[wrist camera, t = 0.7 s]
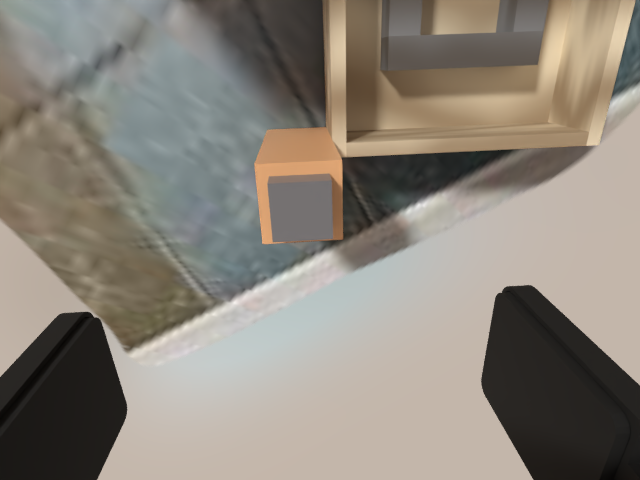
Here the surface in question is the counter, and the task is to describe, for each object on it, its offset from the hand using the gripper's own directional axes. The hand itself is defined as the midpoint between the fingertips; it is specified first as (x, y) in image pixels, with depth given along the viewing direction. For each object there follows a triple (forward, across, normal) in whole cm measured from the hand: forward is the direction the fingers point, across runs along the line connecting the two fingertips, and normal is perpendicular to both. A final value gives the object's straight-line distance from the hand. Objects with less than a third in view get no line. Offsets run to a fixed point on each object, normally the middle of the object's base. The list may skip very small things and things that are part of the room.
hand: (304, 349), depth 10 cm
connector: (+20, 0, 0) cm, 20 cm away
